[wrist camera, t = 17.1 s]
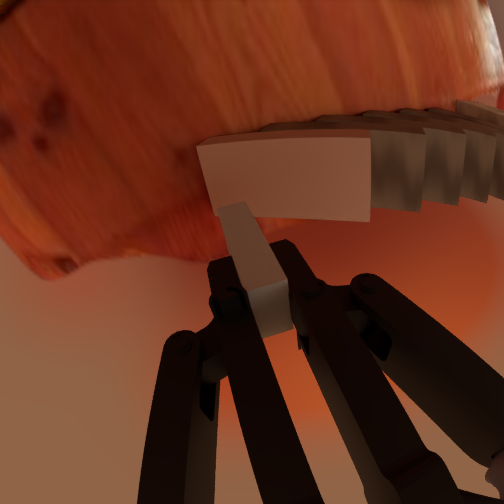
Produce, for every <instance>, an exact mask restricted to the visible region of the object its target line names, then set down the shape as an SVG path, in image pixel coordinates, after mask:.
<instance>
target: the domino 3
mask: <svg viewBox="0 0 504 504" xmlns="http://www.w3.org/2000/svg"><path fill="white" fill-rule="evenodd" d="M316 122H359V123H379V124H393V125H405V126H415V127H422V128H423V130H424V132H425V133H426V153H425V169H424V181H423V191H422V200H427V201H433V202H439V203H444V204H450V205H455V206H458V201H459V195H460V189H461V182H462V175H463V167H464V157H465V146H466V134H465V132H464V131H463V129H462V128H459V127H454V126H448V125H442V124H435V123H428V122H421V121H413V120H404V119H394V118H382V117H367V116H344V115H323V116H321V117H320V118H318V119H317V120H316Z"/></svg>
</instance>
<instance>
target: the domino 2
mask: <svg viewBox="0 0 504 504" xmlns="http://www.w3.org/2000/svg"><path fill="white" fill-rule="evenodd" d="M307 129H365V130H369V131H370V142H371V203H370V207H376V208H385V209H396V210H404V211H413V212H420V208H421V200H422V191H423V181H424V169H425V153H426V133H425V132H424V130H423V128H422V127H415V126H405V125H393V124H379V123H359V122H291V123H271V124H269V125H267V126H266V127H264V128H263V129H262V130H260V132H268V131H284V130H307Z"/></svg>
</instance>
